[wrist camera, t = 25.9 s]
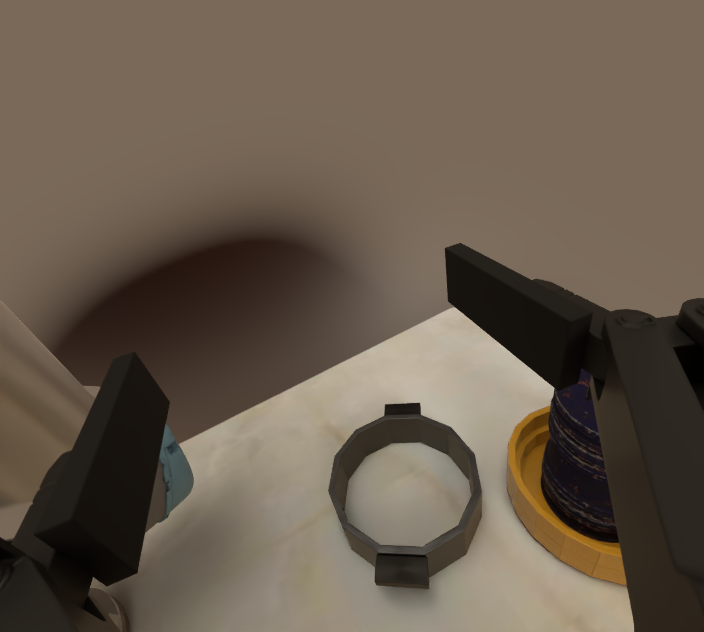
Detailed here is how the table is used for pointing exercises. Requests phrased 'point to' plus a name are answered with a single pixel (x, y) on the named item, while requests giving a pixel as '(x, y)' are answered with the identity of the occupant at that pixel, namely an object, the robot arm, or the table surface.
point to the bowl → (537, 514)
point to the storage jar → (577, 465)
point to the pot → (407, 561)
